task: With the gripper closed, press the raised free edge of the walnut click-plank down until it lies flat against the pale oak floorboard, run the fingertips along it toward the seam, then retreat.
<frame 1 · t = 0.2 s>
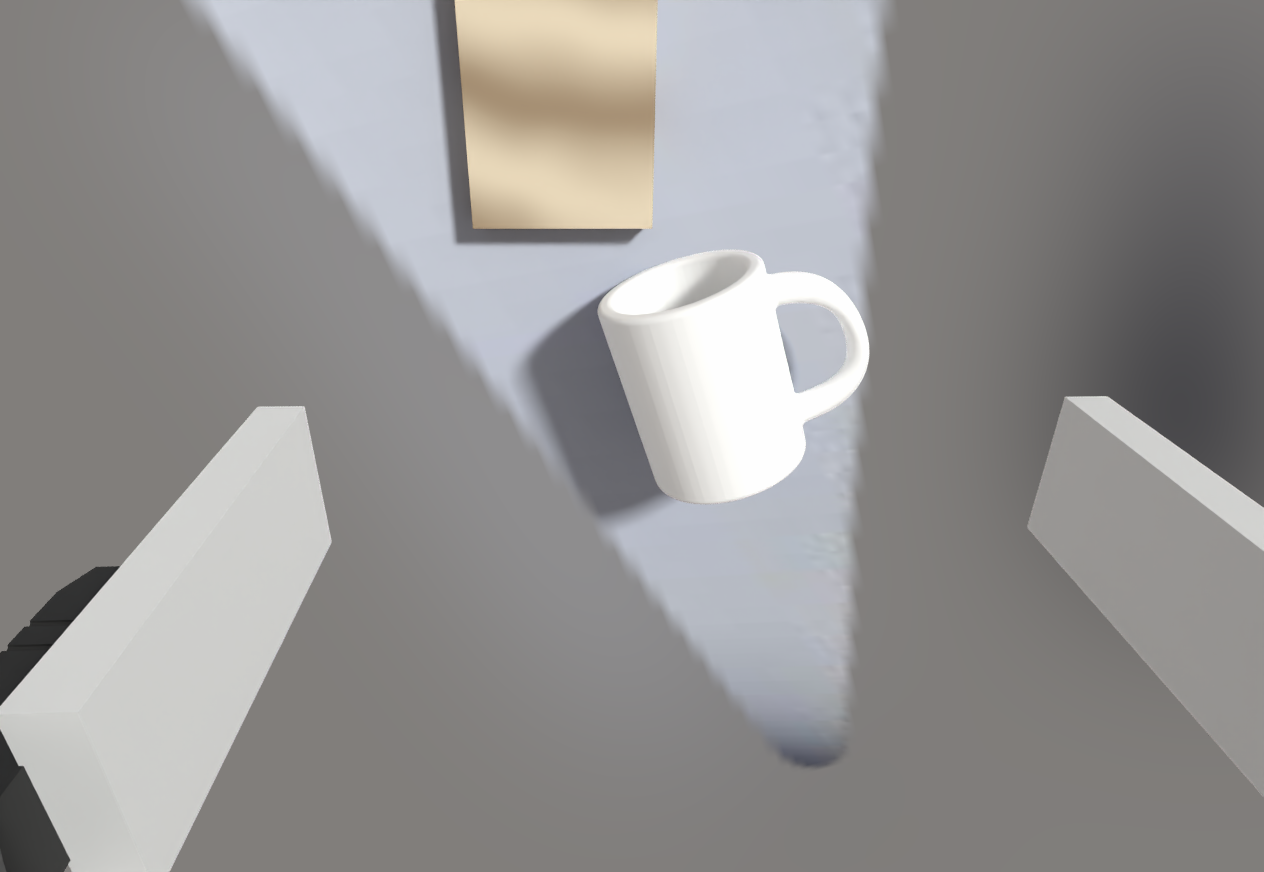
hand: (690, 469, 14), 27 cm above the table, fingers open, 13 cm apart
mug: (730, 334, 42), on the table
floorboard: (560, 89, 36), on the table
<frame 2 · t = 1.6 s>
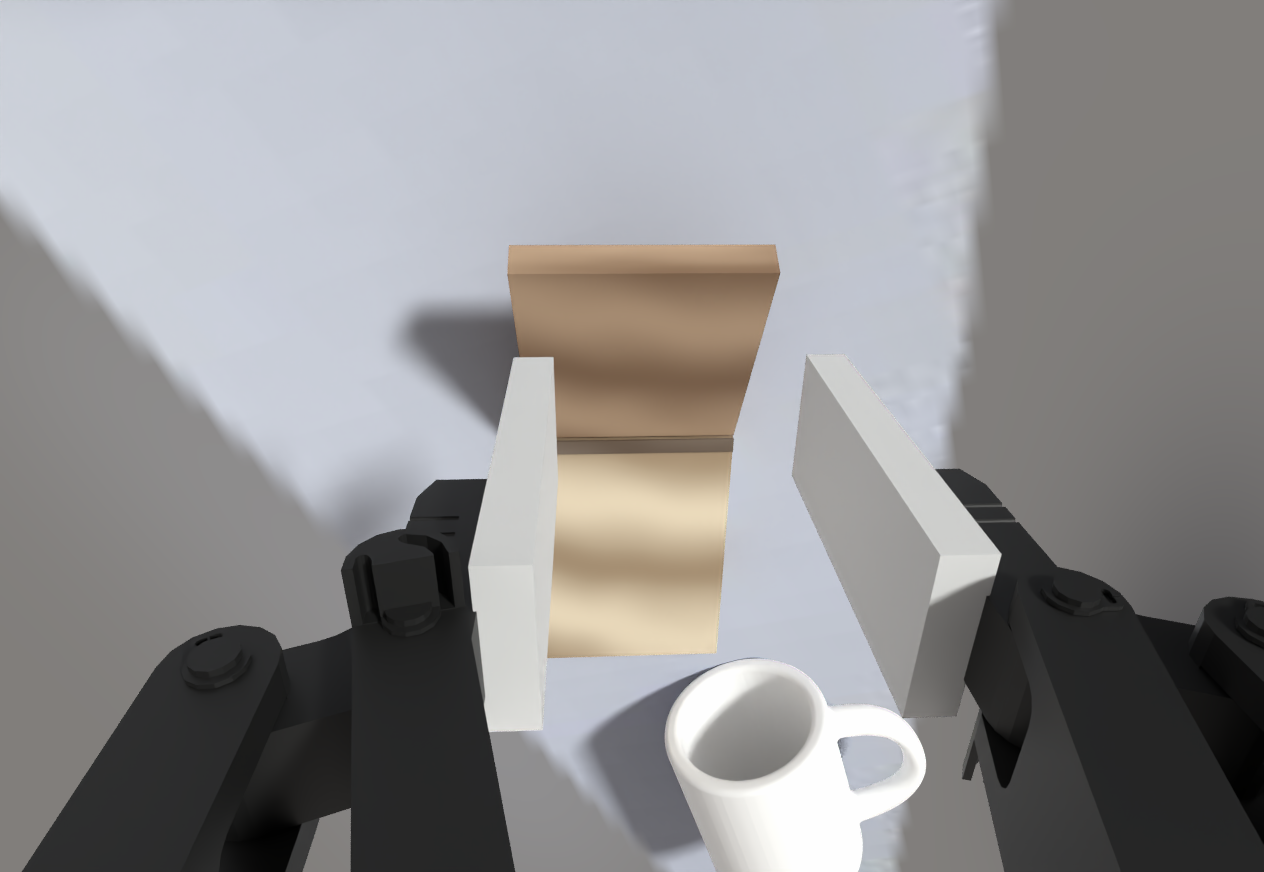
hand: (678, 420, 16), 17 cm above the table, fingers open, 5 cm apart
mug: (786, 711, 43), on the table
floorboard: (630, 538, 37), on the table
plank: (637, 353, 29), point 4 cm above the table, hinge at 32.0°
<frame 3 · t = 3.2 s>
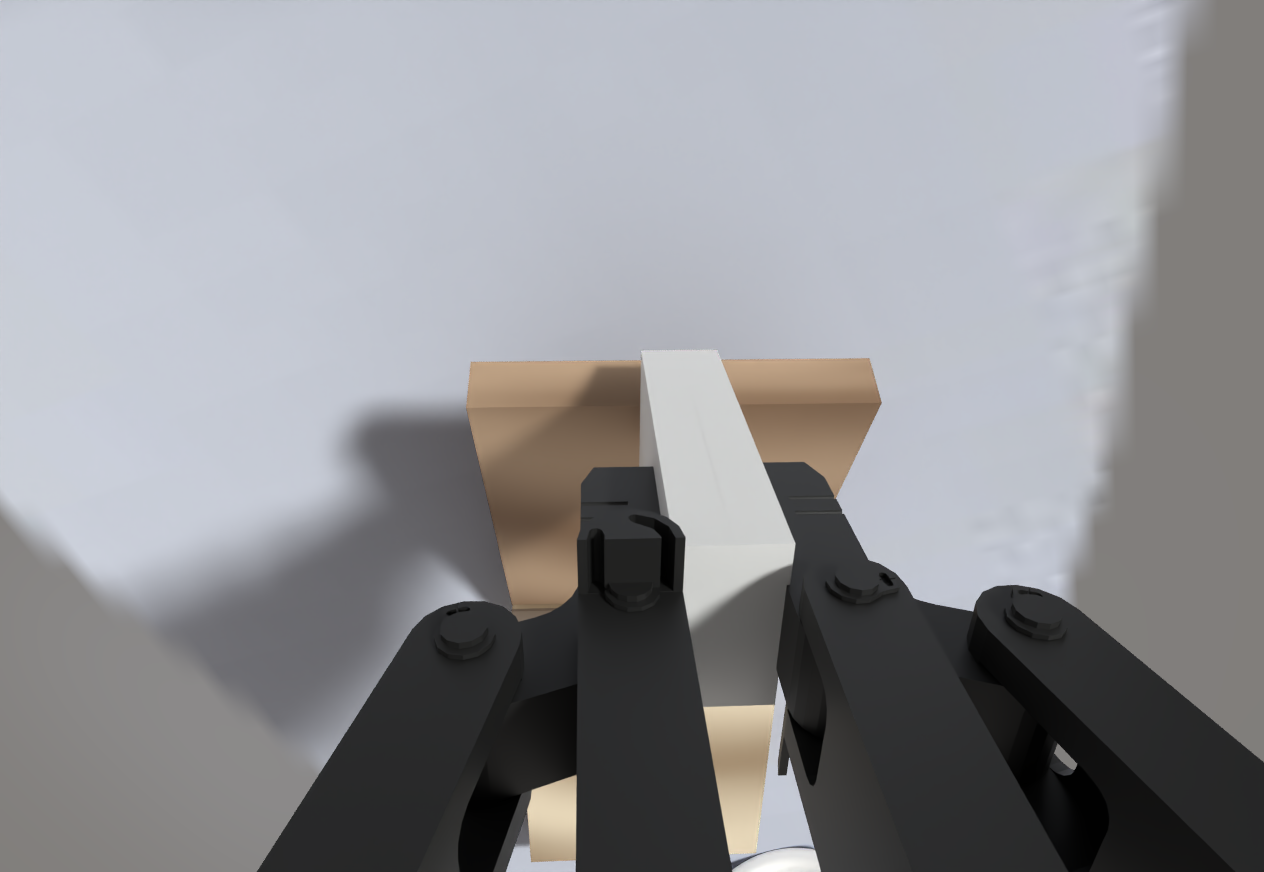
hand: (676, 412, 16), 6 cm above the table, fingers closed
floorboard: (644, 712, 28), on the table
plank: (659, 502, 21), point 3 cm above the table, hinge at 27.9°, touching gripper
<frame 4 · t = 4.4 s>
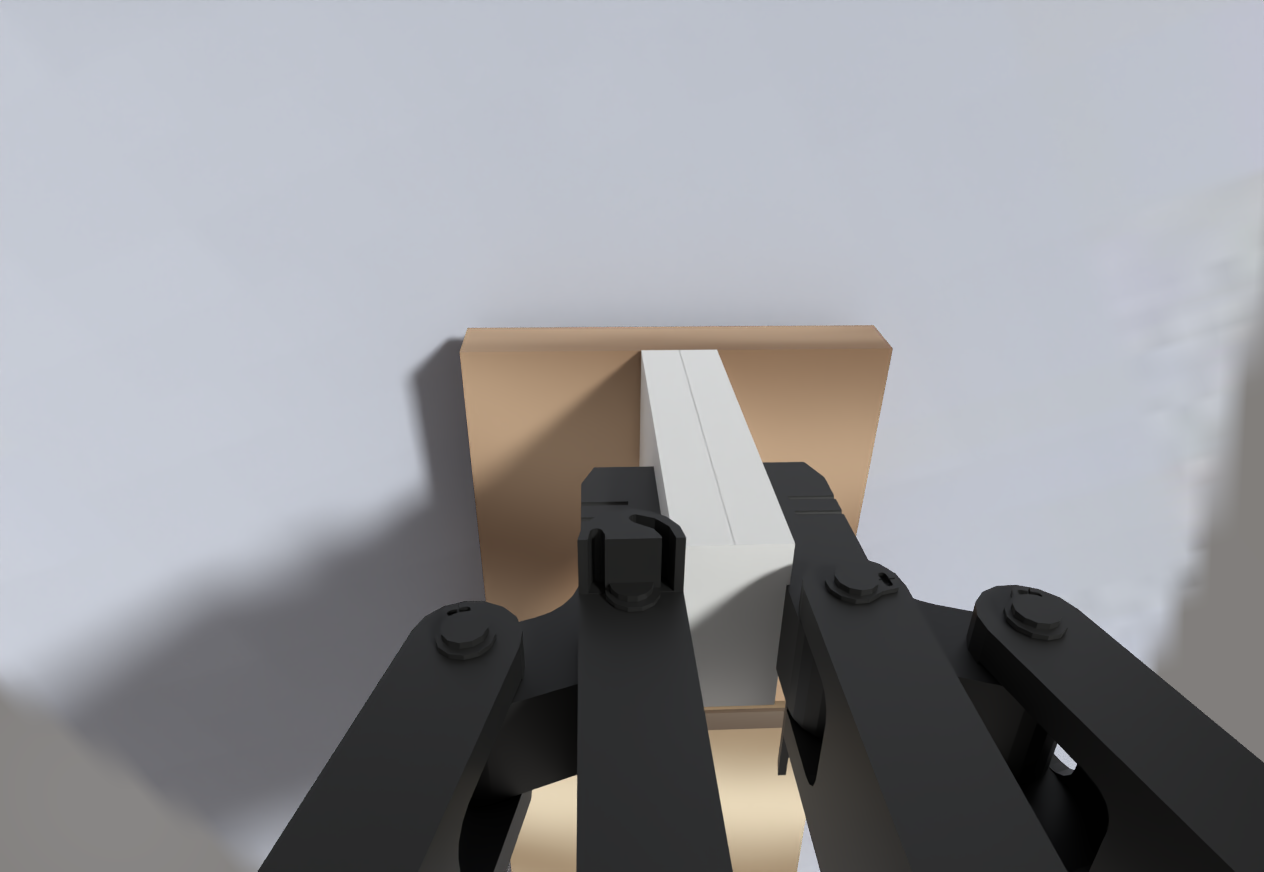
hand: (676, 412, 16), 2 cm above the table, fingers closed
floorboard: (653, 818, 24), on the table
plank: (667, 536, 18), point 1 cm above the table, hinge at 3.2°, touching gripper
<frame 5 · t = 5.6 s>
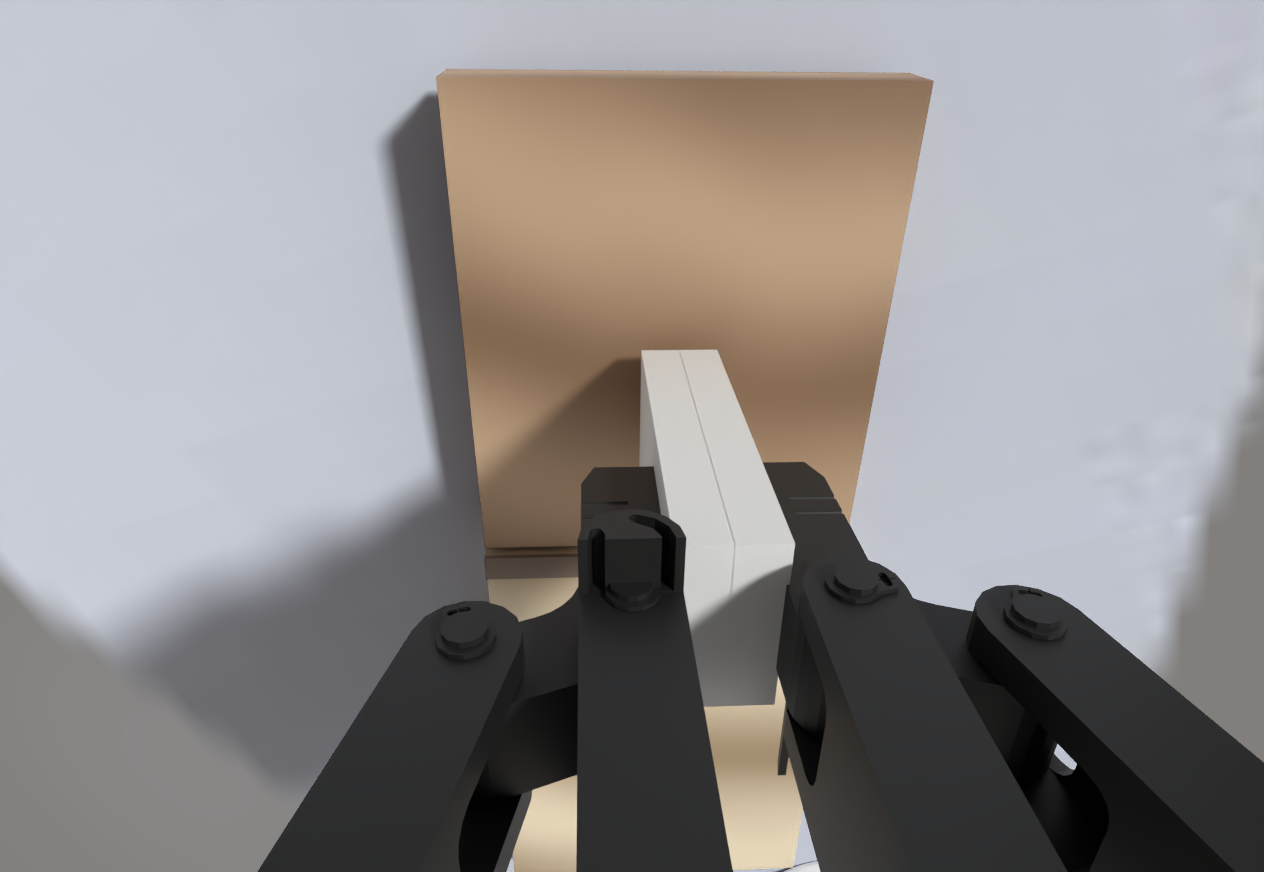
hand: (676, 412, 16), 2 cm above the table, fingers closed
floorboard: (656, 694, 23), on the table
plank: (673, 336, 16), point 1 cm above the table, hinge at 3.0°
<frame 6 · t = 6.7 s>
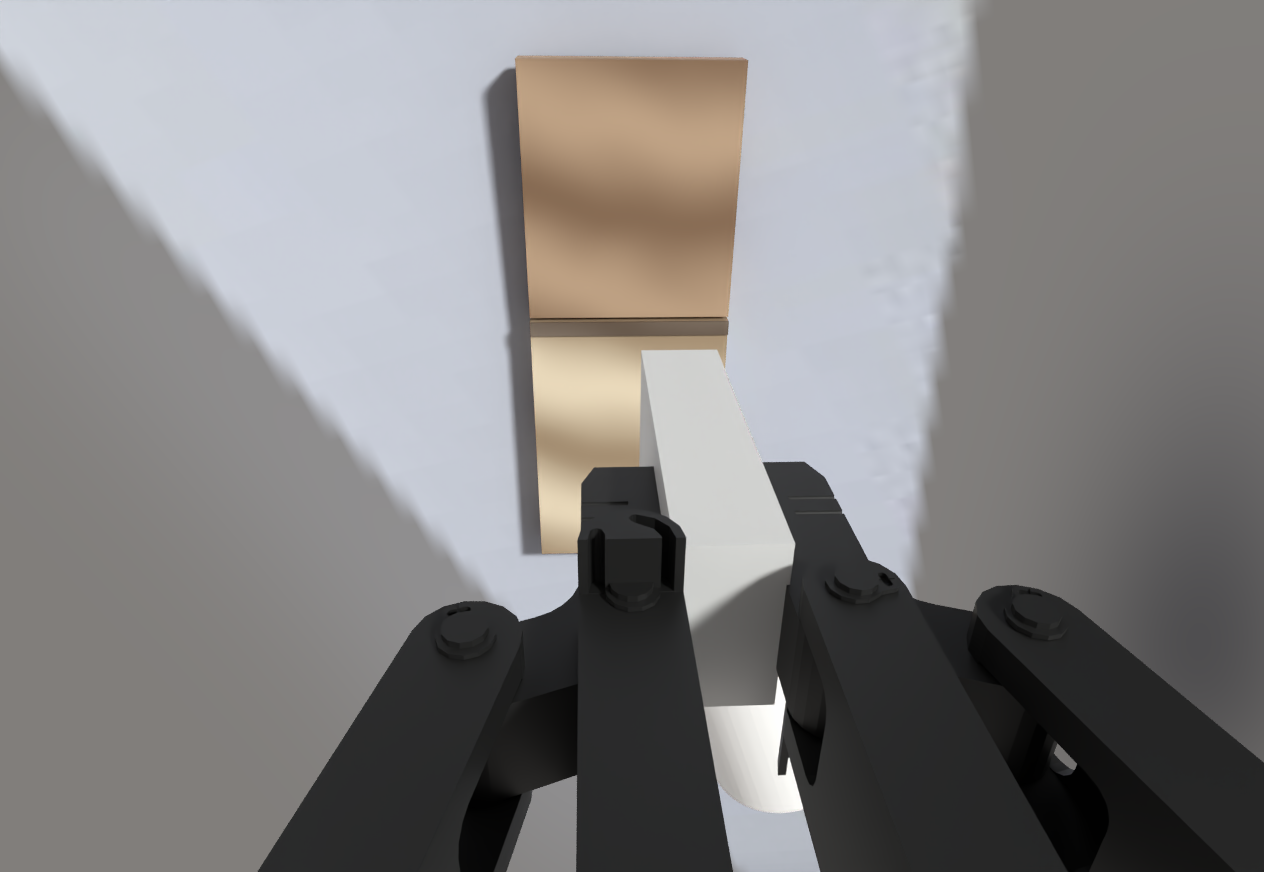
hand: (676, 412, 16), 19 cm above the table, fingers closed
mug: (782, 618, 44), on the table
floorboard: (627, 431, 38), on the table
plank: (630, 195, 32), point 1 cm above the table, hinge at 3.0°
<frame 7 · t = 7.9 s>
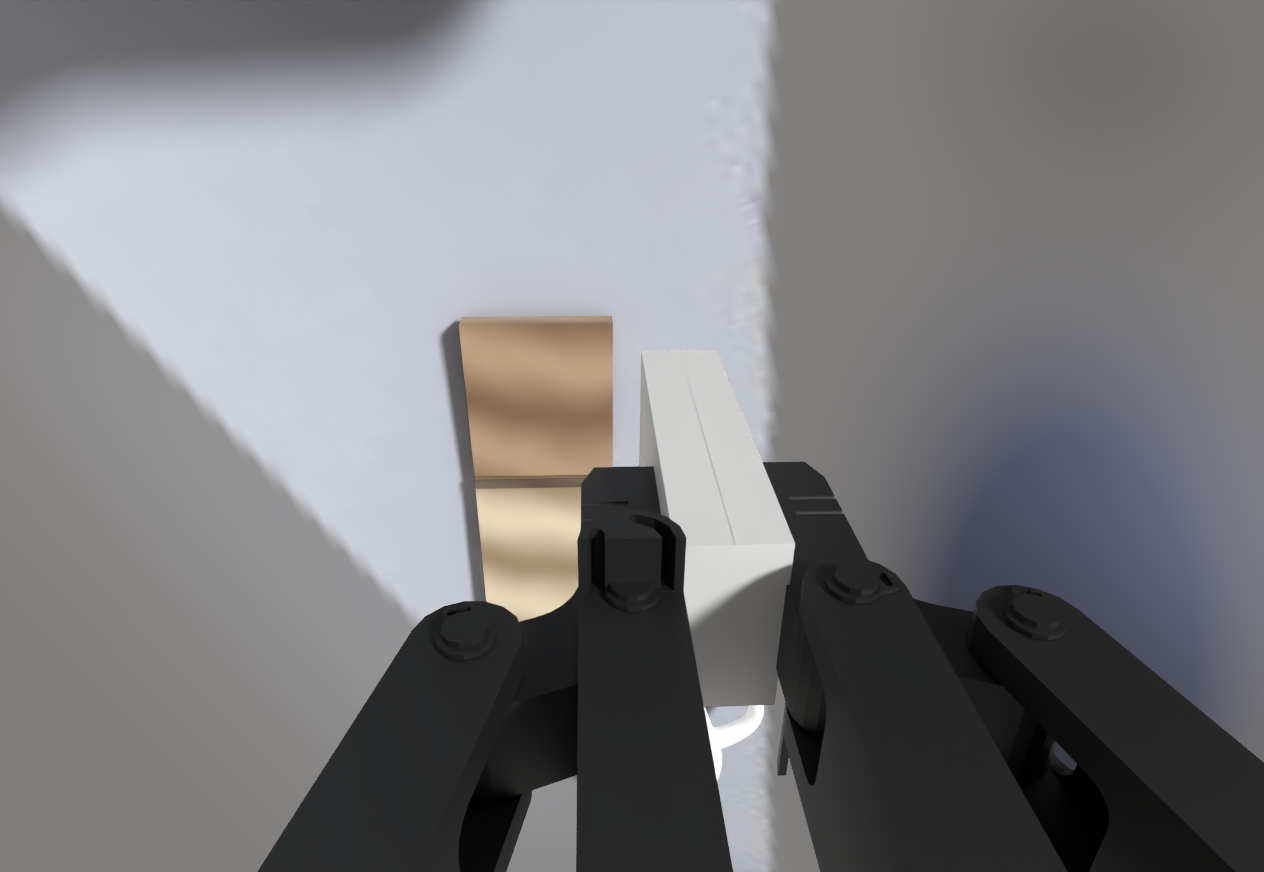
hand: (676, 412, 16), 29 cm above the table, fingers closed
mug: (672, 671, 59), on the table
floorboard: (548, 544, 53), on the table
plank: (540, 399, 47), point 1 cm above the table, hinge at 3.0°
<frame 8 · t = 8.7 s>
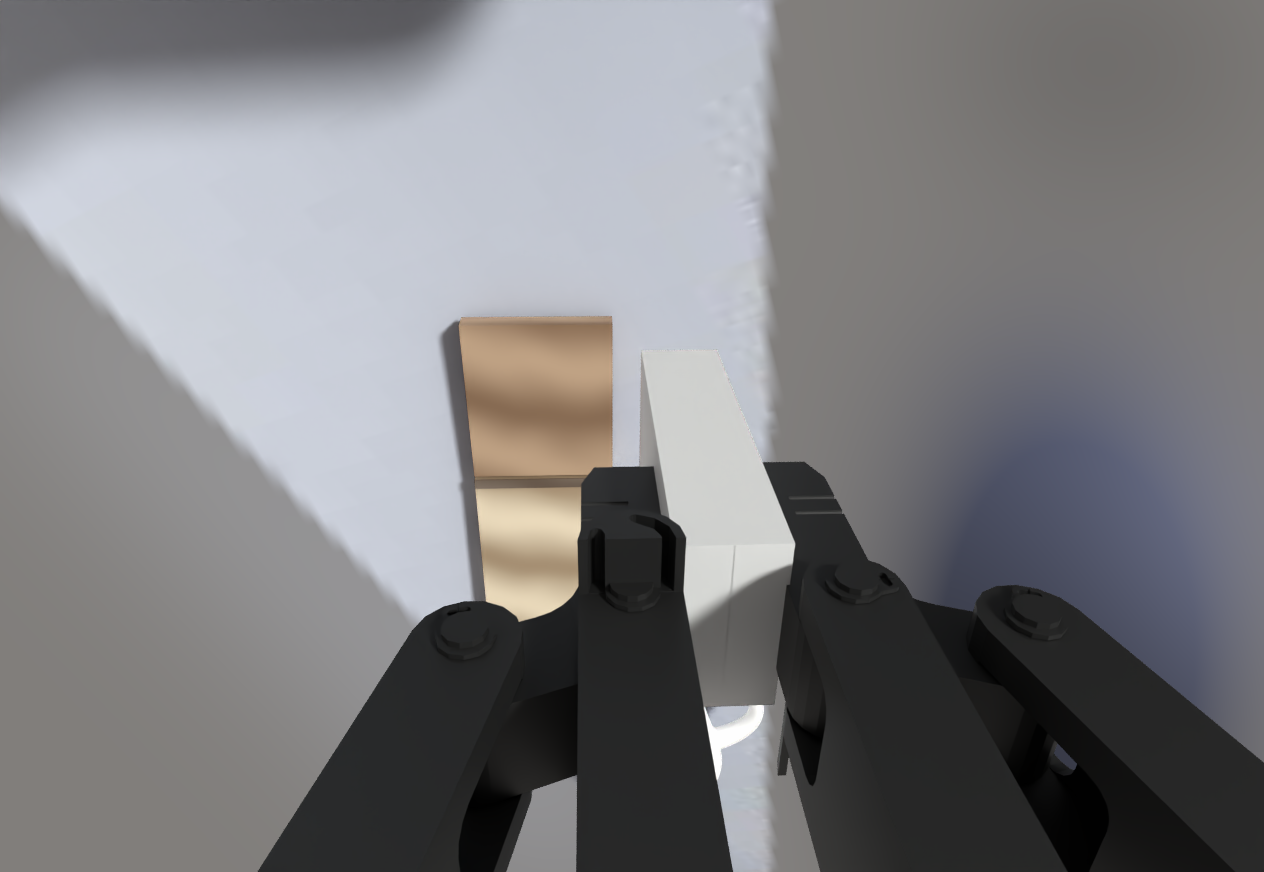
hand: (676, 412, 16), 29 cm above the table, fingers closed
mug: (671, 671, 59), on the table
floorboard: (548, 544, 53), on the table
plank: (540, 399, 47), point 1 cm above the table, hinge at 3.0°
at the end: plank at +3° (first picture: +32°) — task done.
